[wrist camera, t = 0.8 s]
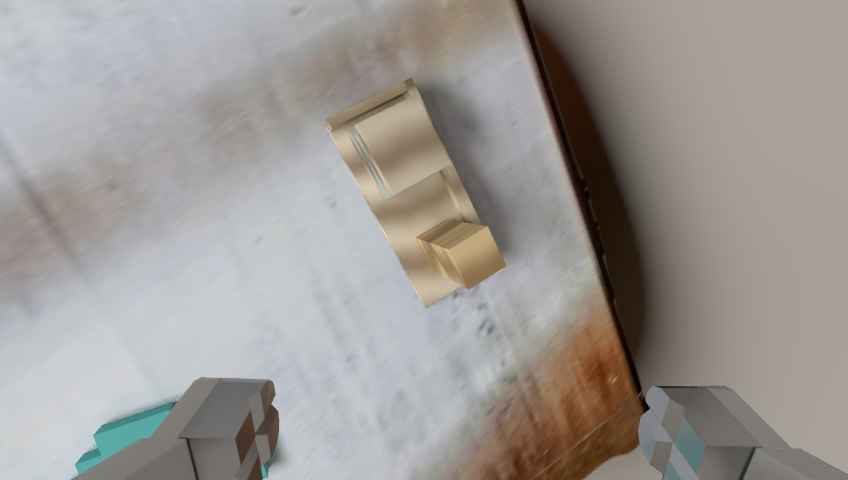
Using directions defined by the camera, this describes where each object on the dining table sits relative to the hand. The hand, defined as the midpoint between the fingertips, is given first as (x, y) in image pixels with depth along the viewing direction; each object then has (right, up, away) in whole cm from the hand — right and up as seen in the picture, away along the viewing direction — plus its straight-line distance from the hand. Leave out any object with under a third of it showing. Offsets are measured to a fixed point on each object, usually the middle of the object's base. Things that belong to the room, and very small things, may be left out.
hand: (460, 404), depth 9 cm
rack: (-2, +8, +39) cm, 40 cm away
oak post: (+1, +3, +40) cm, 40 cm away
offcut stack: (-4, +13, +37) cm, 39 cm away
